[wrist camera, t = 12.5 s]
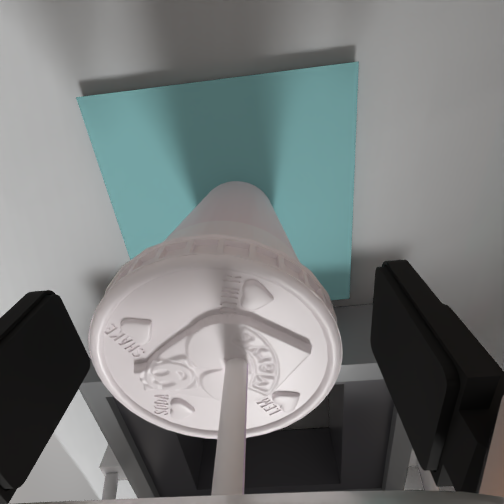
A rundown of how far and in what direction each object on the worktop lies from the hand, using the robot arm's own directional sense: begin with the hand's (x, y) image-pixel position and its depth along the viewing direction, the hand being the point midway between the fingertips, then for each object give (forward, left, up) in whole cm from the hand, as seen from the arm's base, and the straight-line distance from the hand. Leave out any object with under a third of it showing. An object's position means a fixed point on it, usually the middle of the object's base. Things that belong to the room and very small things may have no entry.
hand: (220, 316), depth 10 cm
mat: (0, 0, -8) cm, 8 cm away
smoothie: (0, 0, -8) cm, 8 cm away
